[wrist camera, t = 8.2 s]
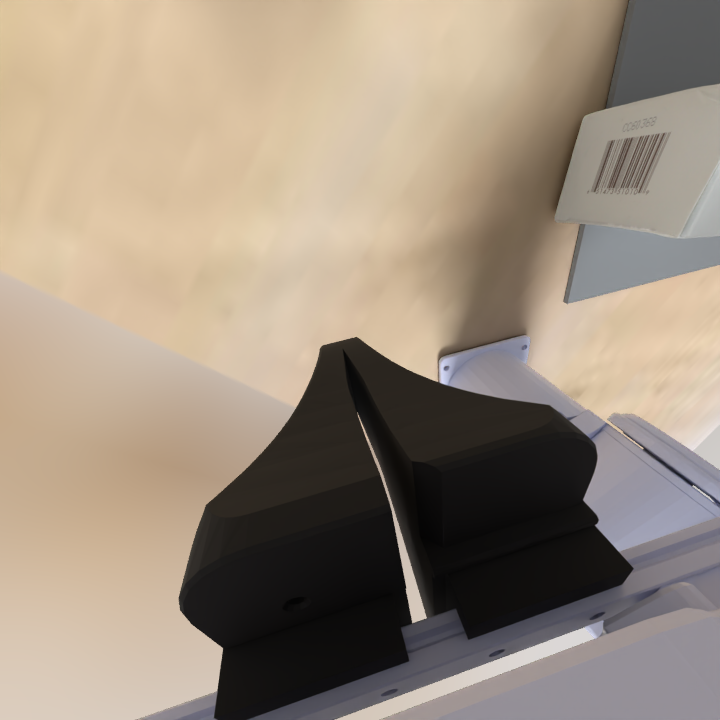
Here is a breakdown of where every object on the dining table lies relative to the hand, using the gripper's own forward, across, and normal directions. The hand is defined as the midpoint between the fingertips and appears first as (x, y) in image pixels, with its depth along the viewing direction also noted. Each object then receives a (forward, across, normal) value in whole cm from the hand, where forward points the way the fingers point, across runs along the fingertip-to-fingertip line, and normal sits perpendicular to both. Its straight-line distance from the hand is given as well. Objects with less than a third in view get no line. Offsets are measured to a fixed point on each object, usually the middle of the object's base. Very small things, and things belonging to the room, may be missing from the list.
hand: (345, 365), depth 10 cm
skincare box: (+6, -16, -4) cm, 18 cm away
